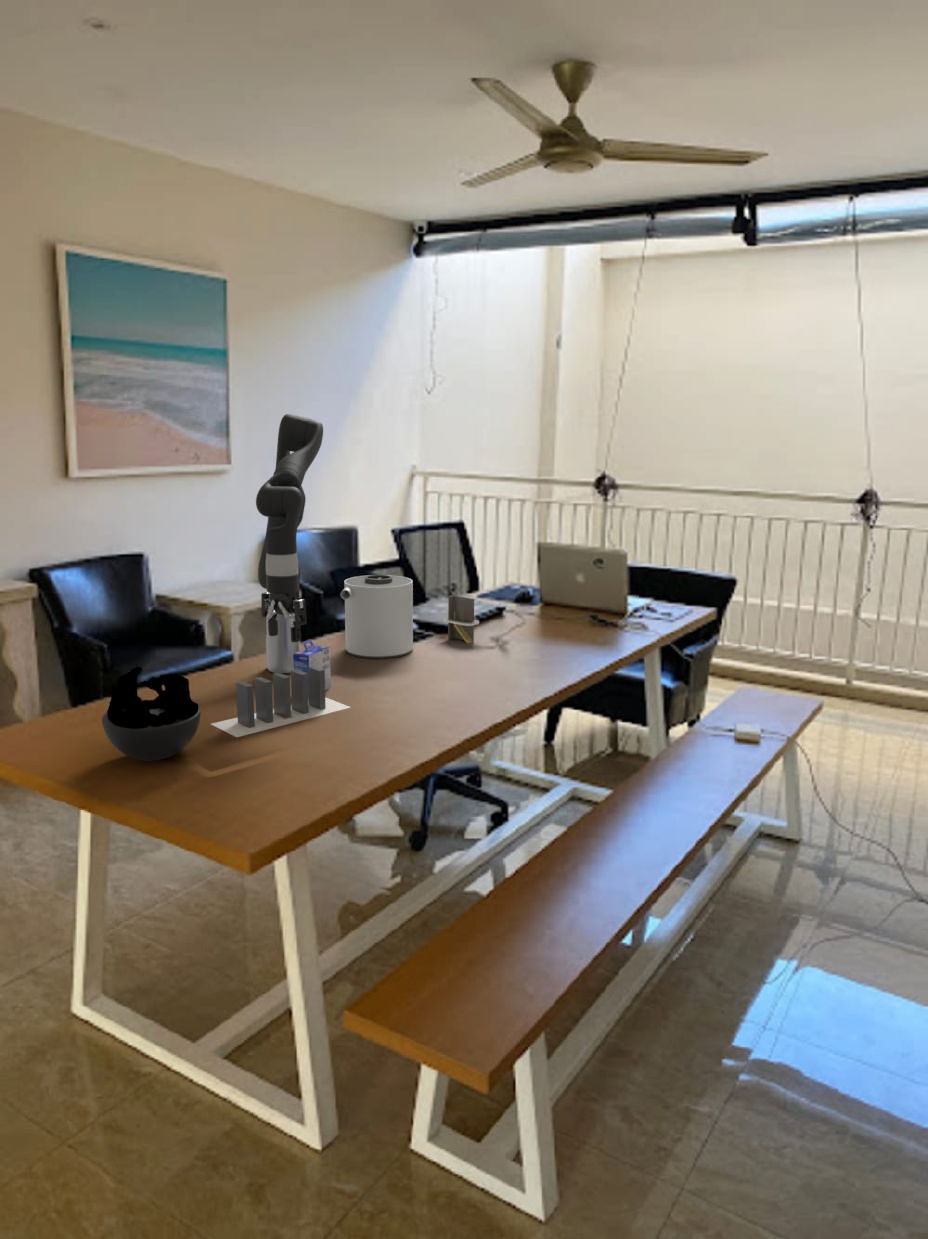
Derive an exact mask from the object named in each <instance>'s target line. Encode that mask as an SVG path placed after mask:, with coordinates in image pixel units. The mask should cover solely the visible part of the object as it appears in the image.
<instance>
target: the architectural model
mask: <svg viewBox="0 0 928 1239" xmlns="http://www.w3.org/2000/svg"><path fill="white" fill-rule="evenodd" d="M447 600H448V606H447V607H448V610H447V615H448V616H447V617H443V619H442V622H445V623H447V625H448V626H447V630H448V631H447V632H448V633H447V634H448V635H447V638H448V640H451V639H459V640H463V641H464V642H465V643H466V644H471V643H475V642H474V641H475V626H476V625H479V624H480V620H479V619H475V599H474V598H470V597H465V596H459V595H450V596H448V599H447Z"/></svg>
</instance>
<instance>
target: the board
mask: <svg viewBox="0 0 928 1239" xmlns="http://www.w3.org/2000/svg"><path fill="white" fill-rule="evenodd" d="M325 705H326V708H325V709H321V710H320V709H317V708H315V707H312V706H310V705H309V699H308V706H309V713H306V714H302V713H299V712H297V711H295V710H292V703H291V717H288V718H284V717H282V716H279V715H277V714H275V713H274V708H273V722H271V723H266V722H264V721H261V720H259V719H257V718H256V712H254V719H255V727H251V728H248V727H245V726H243V725H241V724H239V723H238V716H236V717H233V718H229V719H224V720H221V721H217V722H213V723H210V725H211V726H213V727H215V728H217V729H219V730H221V731H223V732H225V733H227V734H229V735H231V736H233V737H235V738H239V737H244V736H247V735H251V734H255V733H259V732H263V731H266V730H270V729H274V728H277V727H278V728H279V727H282V726H285V725H289V724H293V723H294V724H295V723H298V722H301V721H305V720H308V719H309V720H310V719H313V718H316V717H320V716H324V715H327V714H333V713H335V712H339V711H343V710H346V709H351V706H348V705H346V704H343V703H341V702H340V701H339V702H338V701H336V700H333V699H330V698H328V697H326V696H325Z"/></svg>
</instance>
